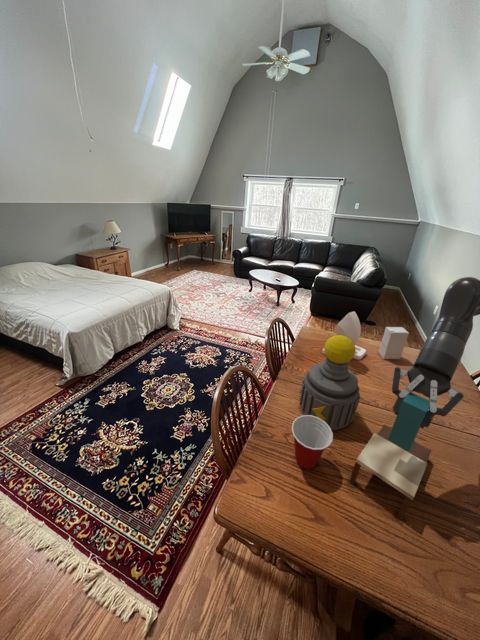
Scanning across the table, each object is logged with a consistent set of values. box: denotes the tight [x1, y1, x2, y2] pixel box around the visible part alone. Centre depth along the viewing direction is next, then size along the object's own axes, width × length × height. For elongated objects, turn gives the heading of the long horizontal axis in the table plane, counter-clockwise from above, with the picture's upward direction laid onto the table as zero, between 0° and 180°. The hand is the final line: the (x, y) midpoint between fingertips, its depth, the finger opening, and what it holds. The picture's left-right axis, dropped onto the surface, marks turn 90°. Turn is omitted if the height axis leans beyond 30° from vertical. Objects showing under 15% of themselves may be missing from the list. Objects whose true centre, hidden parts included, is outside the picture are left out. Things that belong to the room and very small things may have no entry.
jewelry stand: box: [321, 311, 367, 361], centre depth 124 cm, size 25×16×25 cm, turn 136°
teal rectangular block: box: [388, 392, 430, 451], centre depth 62 cm, size 5×5×12 cm
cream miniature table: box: [349, 424, 432, 521], centre depth 73 cm, size 13×24×9 cm, turn 135°
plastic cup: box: [291, 414, 334, 470], centre depth 74 cm, size 11×11×12 cm
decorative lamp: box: [299, 334, 361, 431], centre depth 88 cm, size 19×19×30 cm
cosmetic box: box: [378, 326, 410, 360], centre depth 127 cm, size 8×6×15 cm
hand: (408, 420), depth 60 cm, fingers closed on teal rectangular block, 4 cm apart
